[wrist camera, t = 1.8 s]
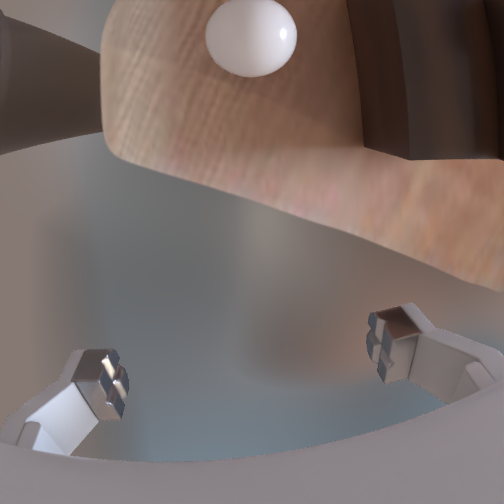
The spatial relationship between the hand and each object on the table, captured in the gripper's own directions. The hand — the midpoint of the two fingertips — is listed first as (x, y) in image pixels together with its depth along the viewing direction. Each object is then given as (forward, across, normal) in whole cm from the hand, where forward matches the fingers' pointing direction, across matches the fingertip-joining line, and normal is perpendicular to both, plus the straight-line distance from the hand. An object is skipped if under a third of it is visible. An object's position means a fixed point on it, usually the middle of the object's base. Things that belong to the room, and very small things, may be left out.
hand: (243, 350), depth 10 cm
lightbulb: (+24, -3, -12) cm, 27 cm away
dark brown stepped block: (+23, -20, -10) cm, 32 cm away
